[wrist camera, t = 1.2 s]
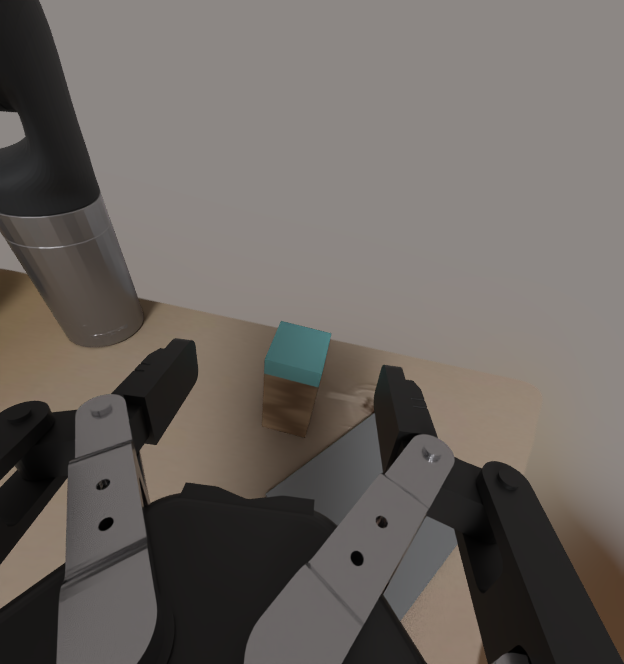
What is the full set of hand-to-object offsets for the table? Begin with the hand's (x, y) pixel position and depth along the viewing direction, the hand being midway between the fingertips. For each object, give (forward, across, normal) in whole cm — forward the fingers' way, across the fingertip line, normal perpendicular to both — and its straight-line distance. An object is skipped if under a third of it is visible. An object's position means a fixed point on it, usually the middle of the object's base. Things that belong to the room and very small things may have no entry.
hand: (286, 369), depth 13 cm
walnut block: (+16, +1, +18) cm, 24 cm away
